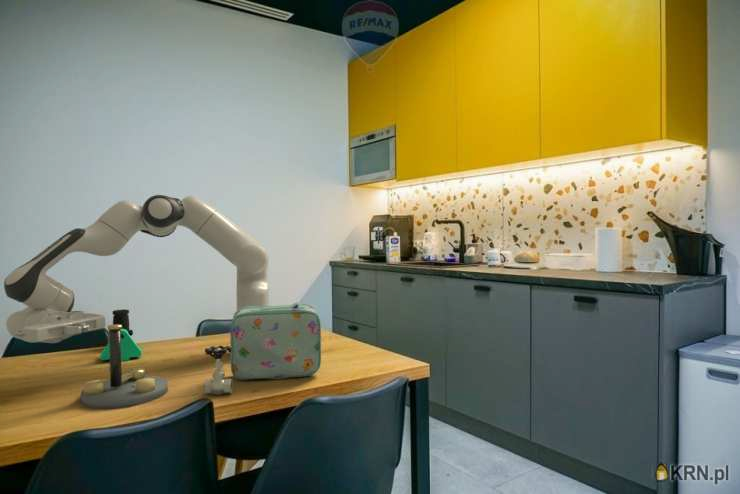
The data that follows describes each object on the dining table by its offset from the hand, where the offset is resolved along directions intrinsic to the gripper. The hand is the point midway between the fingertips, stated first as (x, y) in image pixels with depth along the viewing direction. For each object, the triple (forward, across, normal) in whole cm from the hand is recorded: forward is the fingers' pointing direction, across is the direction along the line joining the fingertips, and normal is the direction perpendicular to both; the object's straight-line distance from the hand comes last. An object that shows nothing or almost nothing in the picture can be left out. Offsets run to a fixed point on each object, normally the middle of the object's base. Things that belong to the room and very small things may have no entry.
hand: (84, 329), depth 127 cm
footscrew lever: (+11, +3, +14) cm, 18 cm away
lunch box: (+40, +31, +18) cm, 53 cm away
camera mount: (-21, +27, +17) cm, 38 cm away
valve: (+36, +11, +17) cm, 41 cm away
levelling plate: (+13, +1, +16) cm, 21 cm away
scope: (-35, +37, +16) cm, 54 cm away
